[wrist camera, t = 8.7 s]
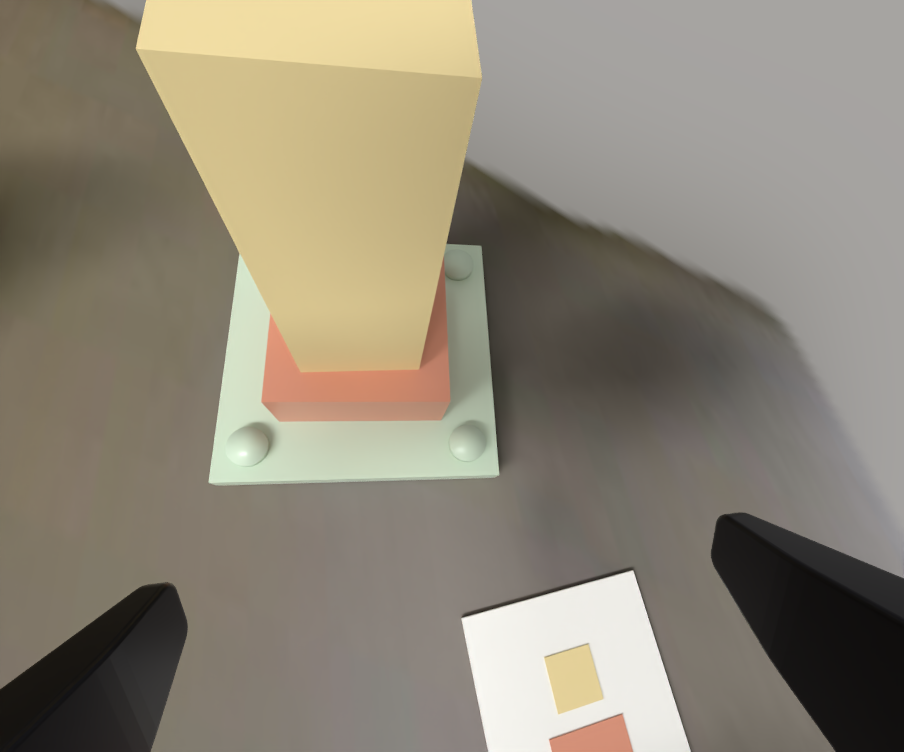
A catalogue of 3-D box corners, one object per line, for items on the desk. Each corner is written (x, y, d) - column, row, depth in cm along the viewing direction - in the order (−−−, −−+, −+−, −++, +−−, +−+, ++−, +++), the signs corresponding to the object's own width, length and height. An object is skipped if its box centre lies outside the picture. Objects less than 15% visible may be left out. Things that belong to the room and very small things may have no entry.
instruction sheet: (718, 846, 17) (722, 850, 17) (524, 932, 15) (526, 938, 15) (631, 570, 20) (634, 570, 20) (461, 617, 18) (461, 618, 18)
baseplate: (493, 477, 21) (518, 465, 17) (217, 485, 19) (176, 473, 15) (477, 256, 25) (494, 206, 21) (248, 245, 23) (221, 188, 19)
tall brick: (418, 369, 18) (482, 77, 6) (300, 372, 17) (135, 48, 6) (413, 271, 19) (456, -107, 8) (303, 269, 18) (178, -148, 7)
